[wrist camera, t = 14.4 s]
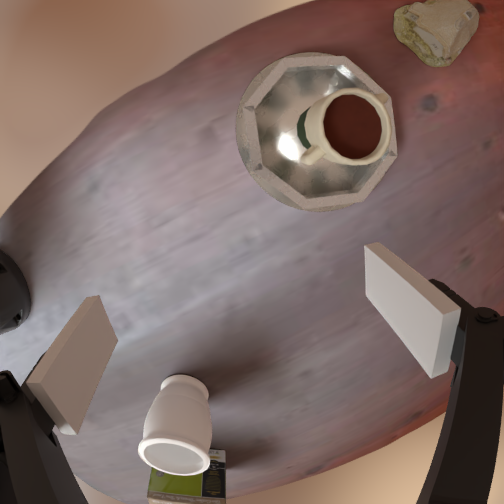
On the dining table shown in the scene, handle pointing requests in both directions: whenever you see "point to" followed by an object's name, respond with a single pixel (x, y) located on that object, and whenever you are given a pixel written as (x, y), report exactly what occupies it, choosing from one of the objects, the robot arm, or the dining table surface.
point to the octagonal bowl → (287, 142)
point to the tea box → (191, 484)
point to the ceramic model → (436, 29)
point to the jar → (178, 428)
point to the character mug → (346, 128)
